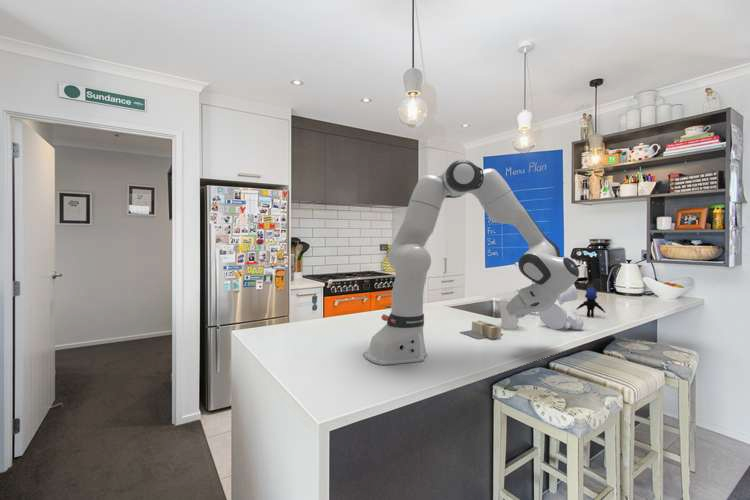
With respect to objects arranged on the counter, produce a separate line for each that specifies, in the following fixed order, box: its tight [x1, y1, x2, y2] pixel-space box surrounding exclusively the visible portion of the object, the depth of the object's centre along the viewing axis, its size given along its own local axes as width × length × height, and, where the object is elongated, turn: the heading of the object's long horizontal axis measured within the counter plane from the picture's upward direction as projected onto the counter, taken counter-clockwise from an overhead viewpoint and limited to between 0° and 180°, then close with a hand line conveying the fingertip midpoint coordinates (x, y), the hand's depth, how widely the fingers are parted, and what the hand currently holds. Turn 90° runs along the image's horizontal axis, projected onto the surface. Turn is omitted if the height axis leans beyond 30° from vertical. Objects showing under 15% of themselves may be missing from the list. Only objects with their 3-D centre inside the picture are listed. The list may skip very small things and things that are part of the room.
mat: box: [459, 329, 504, 340], centre depth 159 cm, size 14×11×1 cm
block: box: [471, 320, 502, 340], centre depth 156 cm, size 4×5×12 cm
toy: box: [576, 287, 606, 318], centre depth 193 cm, size 13×6×15 cm, turn 58°
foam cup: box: [498, 296, 520, 330], centre depth 169 cm, size 10×9×13 cm
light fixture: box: [538, 283, 584, 331], centre depth 171 cm, size 25×16×18 cm
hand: (518, 316), depth 142 cm, fingers closed
